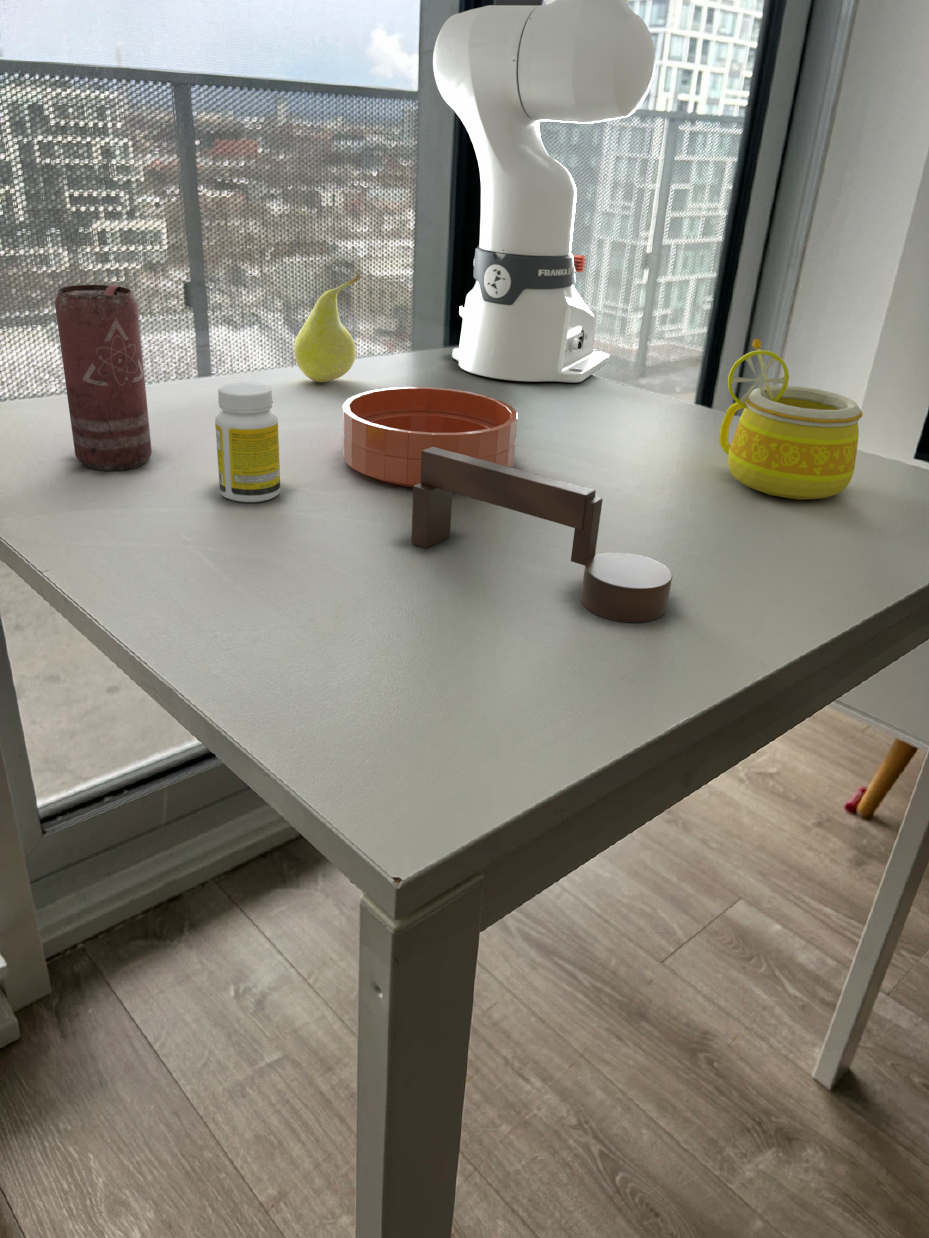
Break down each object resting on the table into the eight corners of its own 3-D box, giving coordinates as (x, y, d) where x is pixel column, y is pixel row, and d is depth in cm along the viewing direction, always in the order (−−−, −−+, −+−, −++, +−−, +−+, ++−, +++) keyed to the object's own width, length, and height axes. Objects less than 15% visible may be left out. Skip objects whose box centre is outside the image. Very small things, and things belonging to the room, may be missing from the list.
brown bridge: (679, 600, 62) (697, 504, 59) (644, 631, 58) (662, 530, 55) (444, 526, 71) (449, 440, 68) (399, 548, 67) (402, 457, 64)
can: (164, 451, 83) (149, 285, 77) (134, 475, 77) (116, 297, 71) (97, 445, 83) (77, 279, 77) (63, 468, 78) (38, 291, 71)
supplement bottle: (293, 493, 76) (290, 389, 72) (250, 508, 72) (244, 400, 68) (250, 479, 78) (245, 377, 74) (207, 493, 75) (199, 387, 71)
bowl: (411, 429, 94) (413, 378, 91) (543, 463, 87) (548, 409, 84) (307, 464, 82) (306, 408, 80) (449, 507, 75) (452, 446, 73)
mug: (868, 490, 85) (905, 356, 80) (811, 516, 78) (846, 371, 73) (744, 453, 93) (770, 329, 87) (682, 474, 86) (705, 340, 81)
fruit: (300, 372, 112) (298, 265, 106) (363, 376, 112) (364, 270, 106) (289, 385, 106) (286, 273, 100) (355, 390, 106) (356, 278, 100)
